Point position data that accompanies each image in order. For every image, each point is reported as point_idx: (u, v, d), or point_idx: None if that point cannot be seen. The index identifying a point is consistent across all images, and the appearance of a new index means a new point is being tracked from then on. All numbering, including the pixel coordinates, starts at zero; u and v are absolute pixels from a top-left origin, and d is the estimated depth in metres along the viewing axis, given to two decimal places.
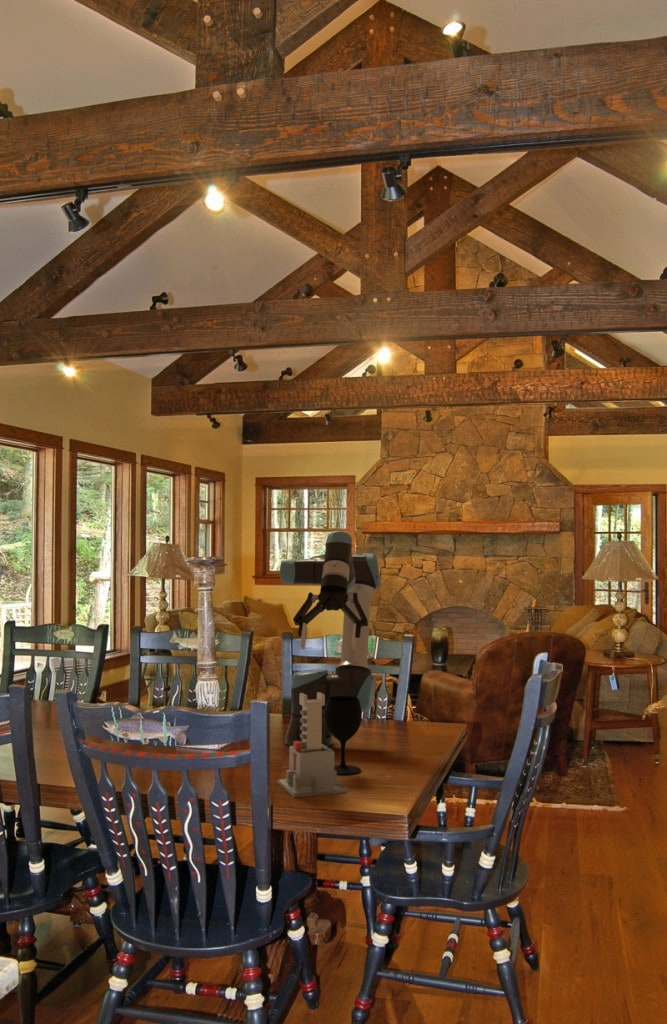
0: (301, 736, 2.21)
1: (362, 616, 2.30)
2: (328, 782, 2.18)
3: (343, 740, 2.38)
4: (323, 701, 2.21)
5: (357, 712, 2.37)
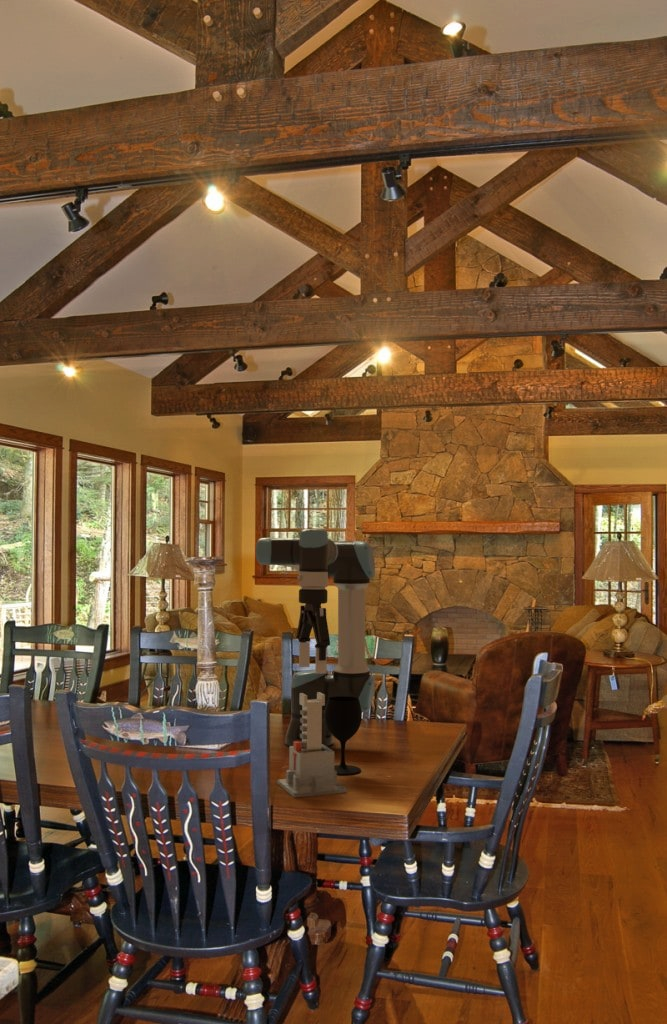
0: (301, 736, 2.21)
1: (319, 639, 2.15)
2: (328, 782, 2.18)
3: (343, 740, 2.38)
4: (323, 701, 2.21)
5: (357, 712, 2.37)
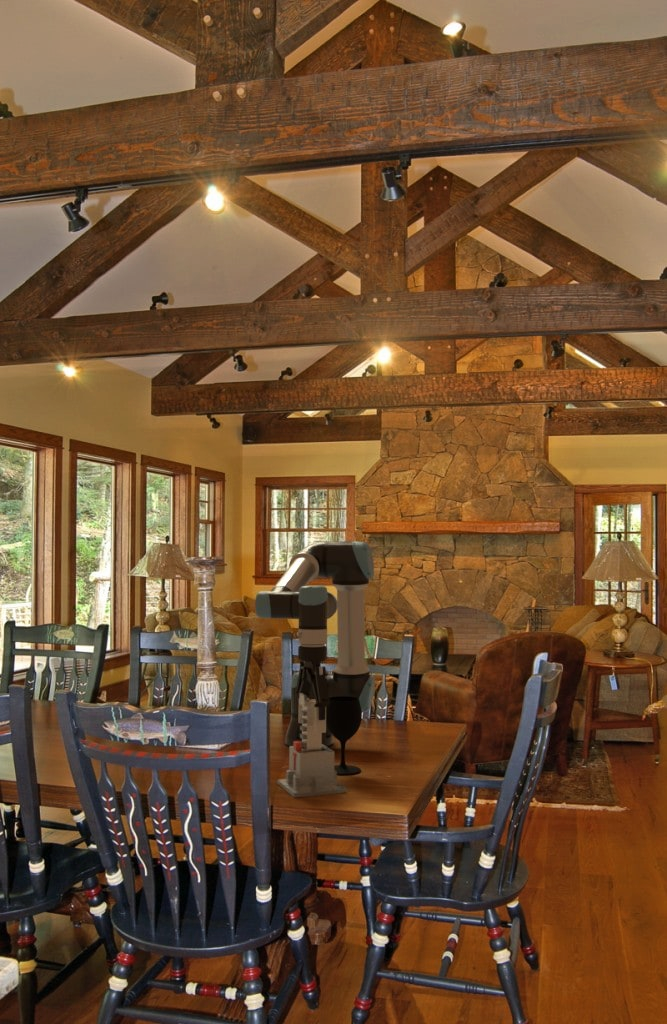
0: (301, 736, 2.21)
1: (318, 698, 2.14)
2: (328, 782, 2.18)
3: (343, 740, 2.38)
4: None
5: (357, 712, 2.37)
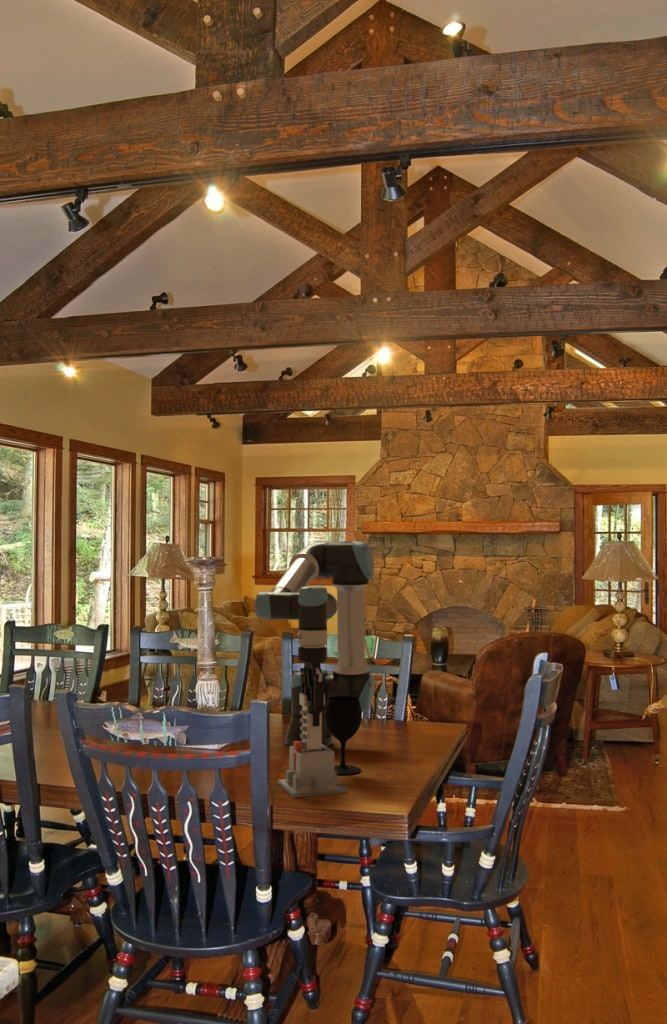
0: (301, 736, 2.21)
1: (313, 704, 2.18)
2: (328, 782, 2.18)
3: (343, 740, 2.38)
4: None
5: (357, 712, 2.37)
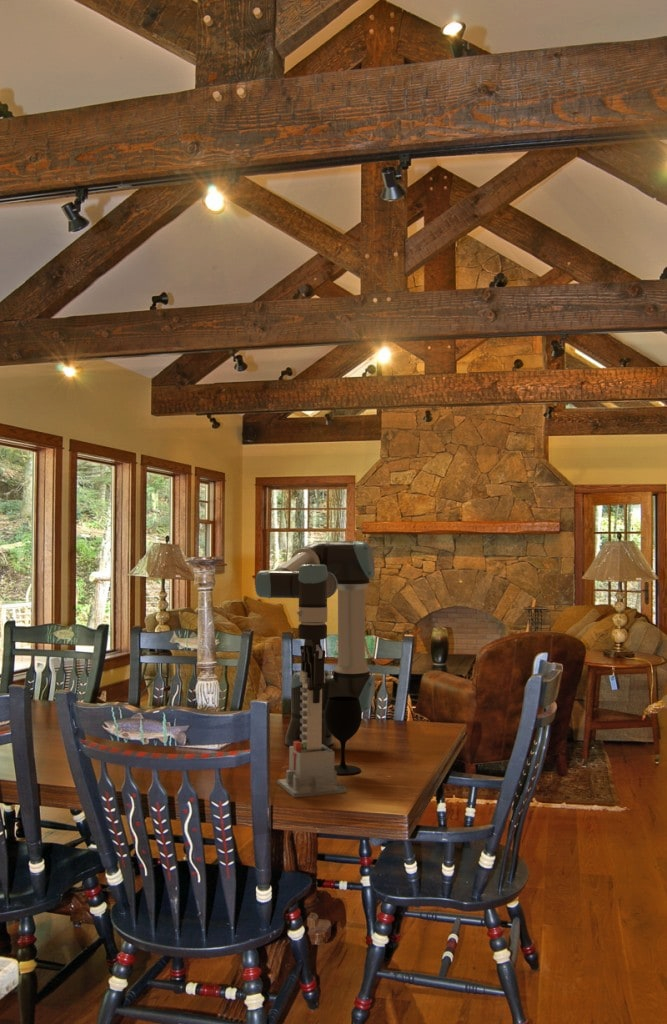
0: (301, 713, 2.21)
1: (314, 681, 2.18)
2: (328, 782, 2.18)
3: (343, 740, 2.38)
4: None
5: (357, 712, 2.37)
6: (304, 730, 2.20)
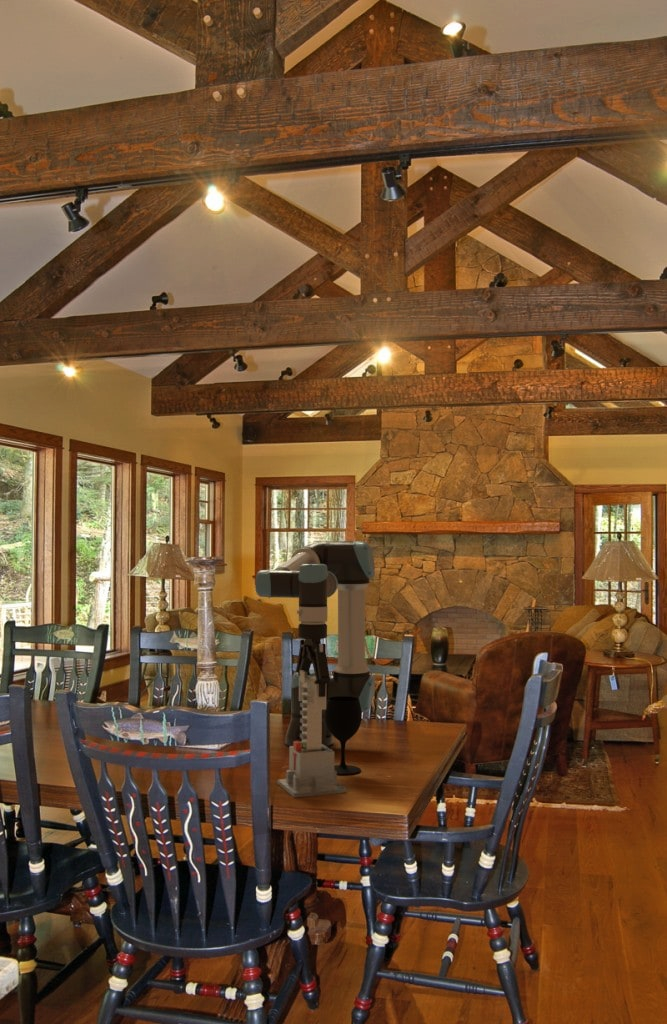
0: (301, 713, 2.21)
1: (319, 675, 2.14)
2: (328, 782, 2.18)
3: (343, 740, 2.38)
4: None
5: (357, 712, 2.37)
6: (304, 730, 2.20)
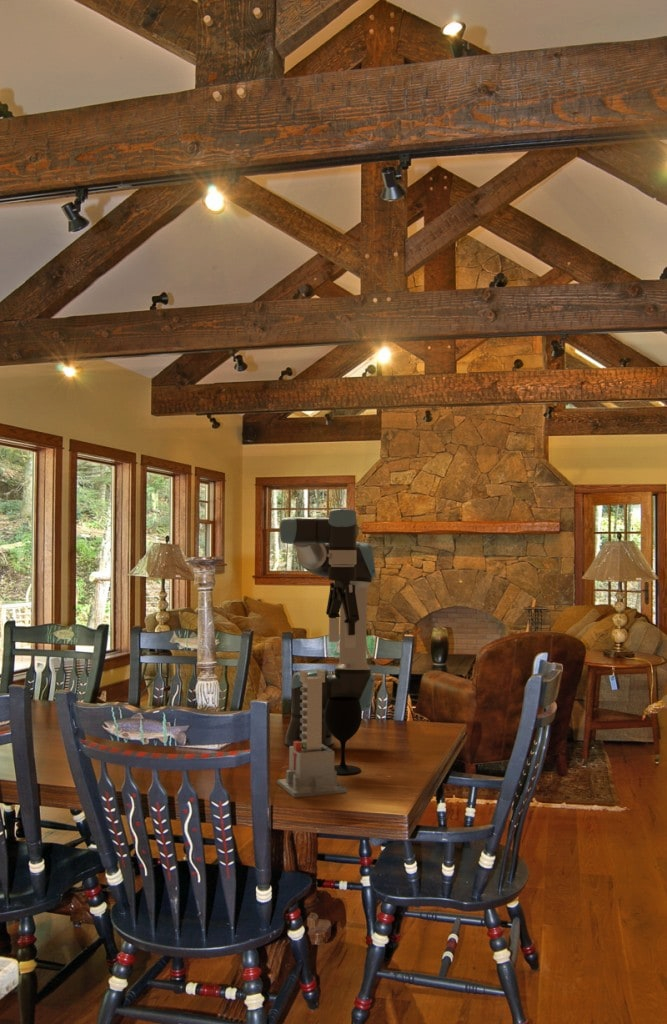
0: (301, 713, 2.21)
1: (348, 614, 2.23)
2: (328, 782, 2.18)
3: (343, 740, 2.38)
4: (323, 678, 2.22)
5: (357, 712, 2.37)
6: (304, 730, 2.20)
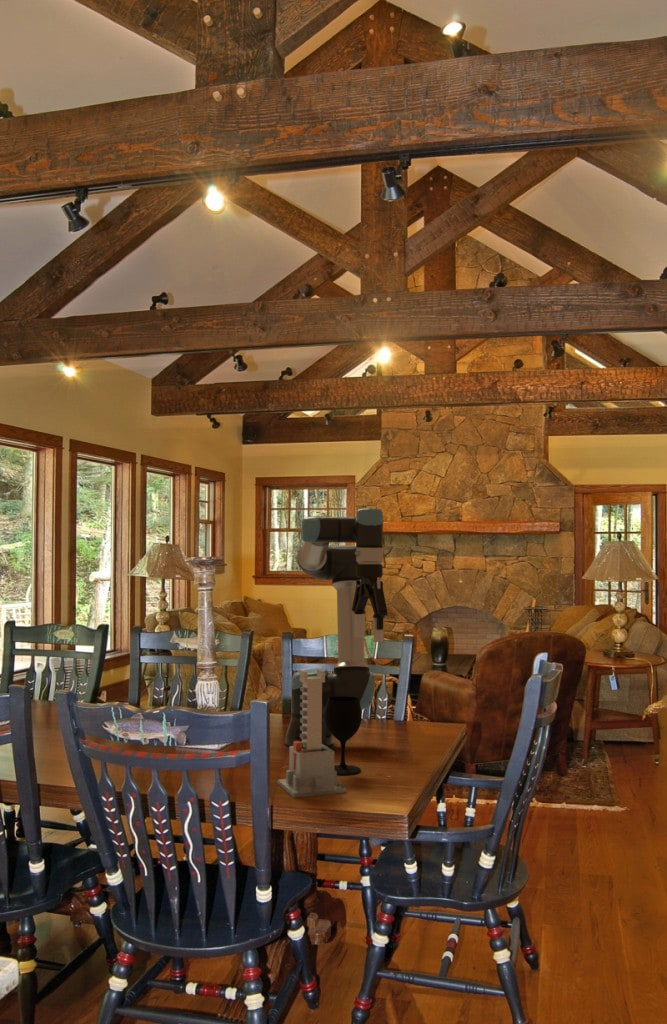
0: (301, 713, 2.21)
1: (377, 609, 2.31)
2: (328, 782, 2.18)
3: (343, 740, 2.38)
4: (323, 678, 2.22)
5: (357, 712, 2.37)
6: (304, 730, 2.20)
